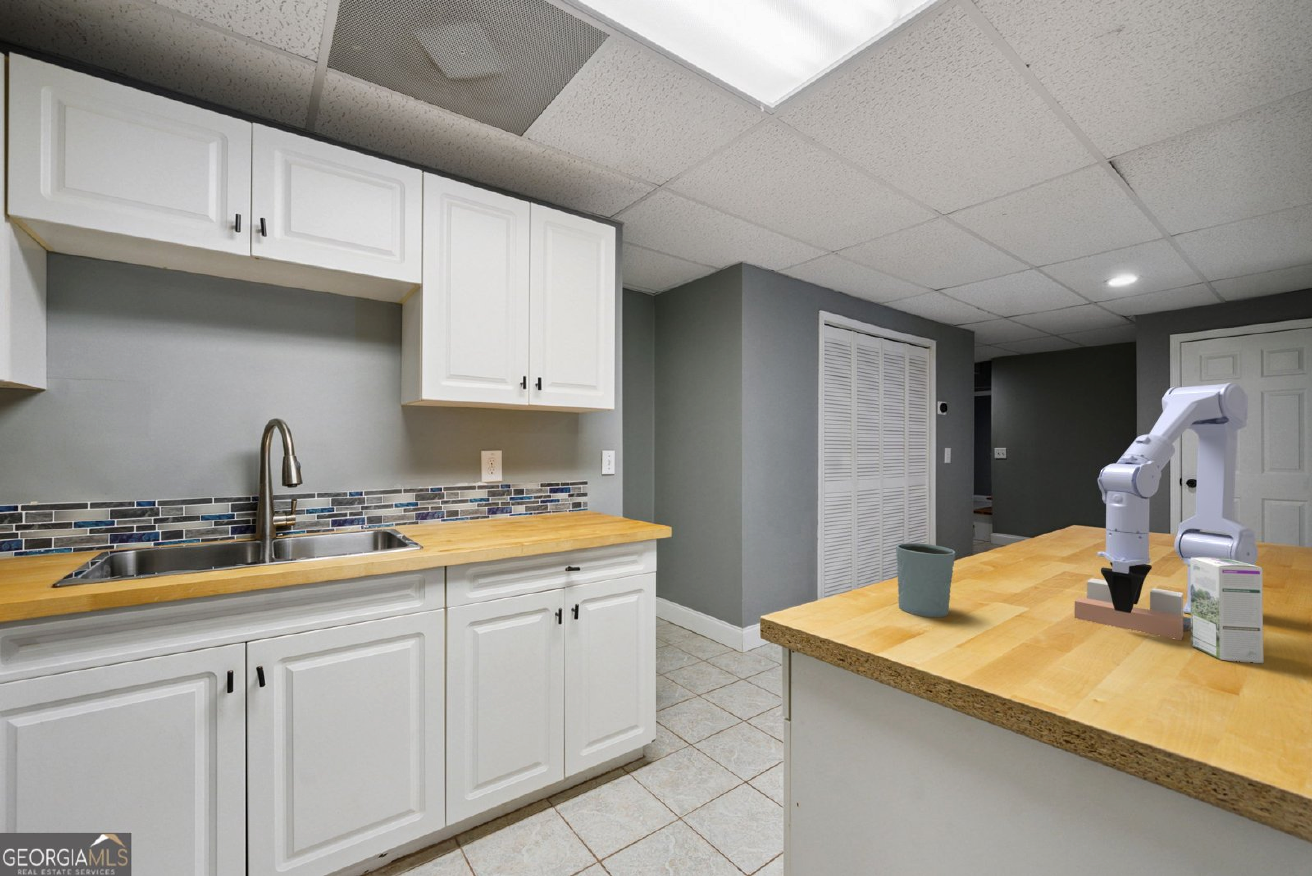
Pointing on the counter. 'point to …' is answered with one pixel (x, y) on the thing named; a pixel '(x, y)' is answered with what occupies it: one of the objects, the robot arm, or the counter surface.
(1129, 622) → the beam
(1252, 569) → the syrup box
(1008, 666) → the counter surface
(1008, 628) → the counter surface
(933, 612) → the grey green cup
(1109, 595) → the arch base
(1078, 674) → the counter surface
